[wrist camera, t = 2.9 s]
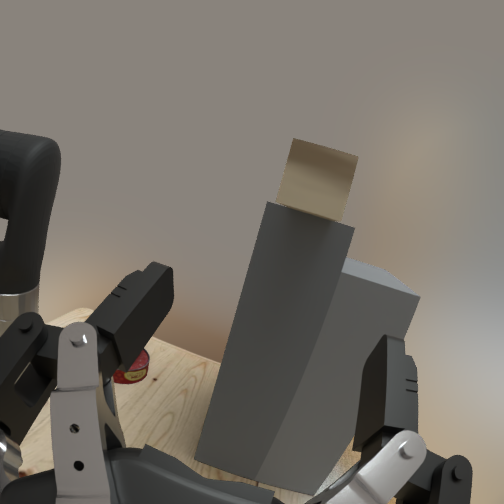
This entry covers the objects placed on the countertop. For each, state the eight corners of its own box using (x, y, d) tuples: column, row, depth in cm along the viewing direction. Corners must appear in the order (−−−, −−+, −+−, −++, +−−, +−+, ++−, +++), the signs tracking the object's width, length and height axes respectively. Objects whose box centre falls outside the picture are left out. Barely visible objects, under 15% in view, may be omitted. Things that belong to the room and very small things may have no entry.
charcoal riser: (313, 495, 30) (434, 255, 25) (194, 459, 32) (267, 201, 27) (318, 427, 45) (394, 242, 40) (227, 398, 48) (285, 208, 43)
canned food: (101, 400, 43) (74, 355, 39) (105, 362, 52) (84, 320, 48) (163, 387, 45) (141, 340, 41) (160, 350, 54) (142, 305, 50)
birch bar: (341, 221, 18) (358, 156, 17) (275, 201, 18) (293, 138, 18) (327, 220, 41) (335, 192, 40) (299, 212, 42) (307, 183, 41)
